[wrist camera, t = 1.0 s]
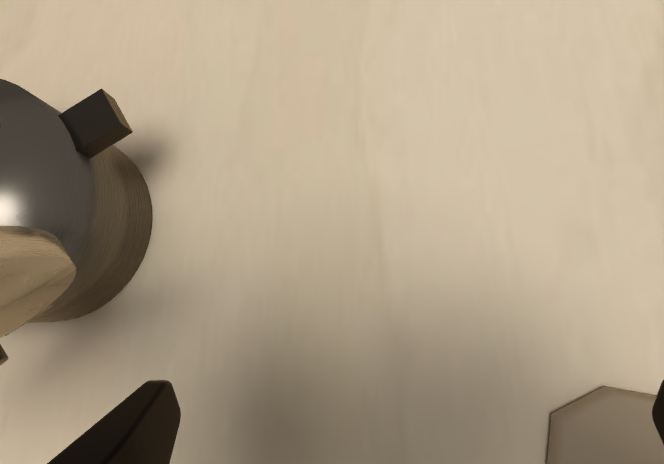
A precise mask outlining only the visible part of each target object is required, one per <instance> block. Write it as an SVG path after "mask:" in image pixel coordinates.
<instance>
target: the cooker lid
mask: <svg viewBox="0 0 664 464" xmlns="http://www.w3.org/2000/svg"><path fill="white" fill-rule="evenodd" d="M75 275H76V267H75V265H74V264H73V262H72V260H71V259H70V257H69V256H68V254H67V252H66V251H65V249H64V247H63V246H62V244H61V243H60V241H59V240H58V238H57V237H56V236H54V235H53V234H51V233H49V232H47V231H44V230H40V229H37V228H31V227H23V226H0V338H2V337H3V336H5V335H6V334H8V333H10V332H11V331H13V330H14V329H16V328H18V327H19V326H21V325H22V324H24V323H25V322H27V321H28V320H30V319H31V318H32V317H34V316H35V315H37V314H38V313H40V312H41V311H42V310H43V309H45V308H46V307H47V306H49V305H50V304H51V303H52V302H53V301H55V300H56V299H57V298H58V297H59V296H60V295H61V294H62V293H63V292H64V291H65V290H66V289H67V288H68V287H69V286H70V284H71V283H72V281H73V280H74V278H75ZM7 360H8V356H7V354H6V353H5V351H4V349H3V348H2V346H1V344H0V365H2V364H3V363H4V362H5V361H7Z"/></svg>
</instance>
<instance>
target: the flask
mask: <svg viewBox="0 0 664 464" xmlns="http://www.w3.org/2000/svg"><path fill="white" fill-rule="evenodd" d="M656 397H657V396H654V395H649V394H644V393H638V392H633V391H627V390H622V389H616V388H611V387H606V386H604V387H602V388H600V389H598V390H596V391H594V392H592V393H590V394H588V395H586V396H585V397H583V398H581V399H579V400H577V401H575V402H573V403H571V404H569V405H567V406H565V407H563V408H561V409H559V410H558V411H556V412H554V413H552V414H551V426H550V438H549V449H548V461H547V464H664V445H663V442H662V440H661V438H660V436H659V433H658V431H657V429H656V427H655V425H654V422H653V418H652V408H653V405H654V402H655V399H656Z"/></svg>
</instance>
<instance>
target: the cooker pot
mask: <svg viewBox="0 0 664 464" xmlns="http://www.w3.org/2000/svg"><path fill="white" fill-rule="evenodd" d="M131 133H132V130H131V128H130V126H129V124H128V123H127V121H126V119H125V117H124V115H123V114H122V112H121V110H120V108H119V107H118V105H117V103H116V101H115V99H114V98H112V97H111V96H110V95H109V94H107V93H106V92H105V91H104V90H103V89H100V90H99V91H97V92H95V93H94V94H92V95H90V96H89V97H87V98H86V99H84V100H82V101H81V102H79V103H78V104H76V105H74V106H73V107H71V108H69V109H68V110H66V111H65V112H63V113H61V112H59V111H58V110H56V109H54V108H53V107H51V106H50V105H48V104H47V103H45V102H44V101H42V100H40V99H39V98H37V97H36V96H34V95H33V94H31V93H29V92H28V91H26V90H25V89H23V88H21V87H20V86H18V85H16V84H13V83H11V82H8V81H6V80H2V79H0V226H23V227H31V228H37V229H40V230H44V231H47V232H49V233H51V234H53V235H54V236H56V237H57V238H58V240H59V241H60V243H61V244H62V246H63V247H64V249H65V251H66V252H67V254H68V256H69V257H70V259H71V260H72V262H73V264H74V265H75V267H76V275H75V278H74V280H73V281H72V283H71V284H70V286H69V287H68V288H67V289H66V290H65V291H64V292H63V293H62V294H61V295H60V296H59V297H58V298H57V299H56V300H55V301H53V302H52V303H51V304H50V305H49V306H47V307H46V308H45V309H43V310H42V311H41V312H40V313H38V314H37V315H35V316H34V317H32V318H31V319H30V320H28V321H27V322H56V321H66V320H70V319H74V318H78V317H81V316H83V315H86V314H88V313H91V312H92V311H94V310H96V309H98V308H100V307H101V306H103V305H104V304H106V303H107V302H108V301H110V300H111V299H112V298H114V297H115V296H116V295H117V294H118V293H119V292H120V291H121V290H122V289H123V288H124V287H125V286H126V284H127V283H128V282H129V281H130V280H131V278H132V277H133V275H134V274H135V272H136V271H137V269H138V267H139V265H140V263H141V261H142V259H143V257H144V255H145V252H146V249H147V247H148V243H149V239H150V235H151V227H152V206H151V199H150V195H149V191H148V188H147V185H146V183H145V181H144V178H143V176H142V174H141V173H140V171H139V170H138V168H137V167H136V165H135V164H134V163H133V162H132V161H131V160H130V159H129V158H128V157H127V156H126V155H125V154H124V153H123V152H121V151H120V150H118V149H117V148H115V147H114V146H112V145H113V144H115V143H116V142H118V141H119V140H121V139H123V138H124V137H126V136H127V135H129V134H131ZM27 322H25V323H27ZM25 323H24V324H25ZM24 324H22V325H24ZM22 325H21V326H22ZM19 327H20V326H19ZM19 327H18V328H19ZM16 329H17V328H16ZM16 329H14V330H16ZM14 330H13V331H14ZM13 331H11V332H13ZM11 332H10V333H11ZM8 334H9V333H8ZM8 334H6V335H8ZM6 335H5V336H6Z"/></svg>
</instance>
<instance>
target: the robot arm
mask: <svg viewBox="0 0 664 464" xmlns="http://www.w3.org/2000/svg"><path fill="white" fill-rule="evenodd" d="M180 418H181V412H180V407H179V404H178V401H177V398H176V395H175V392H174V389H173V386H172V384H171V383H170V382H169V381H167V380H151V381H148V382H146V383H144V384H143V385H142V386H141V387H139V388H138V389H137V390H136V391H135V392H133V393H132V394H131V395H130V396H129V397H127V398H126V399H125V400H124V401H123V402H121V403H120V404H119V405H118V406H116V407H115V408H114V409H113V410H112V411H110V412H109V413H108V414H107V415H106V416H104V417H103V418H102V419H101V420H100V421H98V422H97V423H96V424H95V425H93V426H92V427H91V428H90V429H89V430H87V431H86V432H85V433H84V434H83V435H81V436H80V437H79V438H78V439H77V440H75V441H74V442H73V443H72V444H70V445H69V446H68V447H67V448H66V449H64V450H63V451H62V452H61V453H60V454H58V455H57V456H56V457H55V458H53V459H52V460H51V461H50V462H49V463H47V464H169V462H170V459H171V455H172V451H173V447H174V443H175V439H176V435H177V431H178V428H179V424H180ZM652 418H653V422H654V425H655V427H656V429H657V431H658V433H659V436H660V438H661V440H662V442H663V445H664V380H663V381H662V383H661V386H660V389H659V391H658V394H657V397H656V399H655V402H654V405H653V408H652Z"/></svg>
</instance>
